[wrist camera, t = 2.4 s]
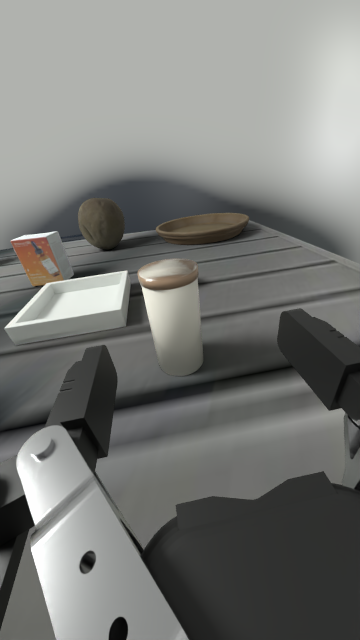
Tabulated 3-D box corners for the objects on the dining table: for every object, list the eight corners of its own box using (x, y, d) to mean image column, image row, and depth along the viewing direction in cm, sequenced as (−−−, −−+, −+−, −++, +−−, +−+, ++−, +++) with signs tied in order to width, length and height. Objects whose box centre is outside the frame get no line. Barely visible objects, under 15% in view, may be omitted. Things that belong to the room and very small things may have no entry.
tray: (15, 345, 32) (4, 328, 30) (53, 296, 45) (46, 283, 44) (125, 326, 33) (120, 309, 31) (130, 284, 46) (127, 270, 45)
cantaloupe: (134, 247, 72) (123, 194, 64) (90, 257, 68) (71, 202, 59) (125, 239, 83) (114, 194, 75) (86, 248, 79) (69, 200, 70)
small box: (32, 287, 52) (8, 240, 46) (44, 277, 56) (24, 234, 51) (65, 283, 51) (45, 236, 45) (75, 274, 56) (58, 230, 50)
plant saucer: (140, 240, 80) (138, 227, 78) (202, 222, 95) (201, 211, 93) (201, 254, 59) (200, 236, 56) (267, 228, 74) (269, 213, 72)
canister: (159, 381, 23) (136, 285, 17) (156, 348, 28) (138, 263, 22) (209, 371, 24) (204, 274, 18) (198, 341, 28) (191, 255, 22)
